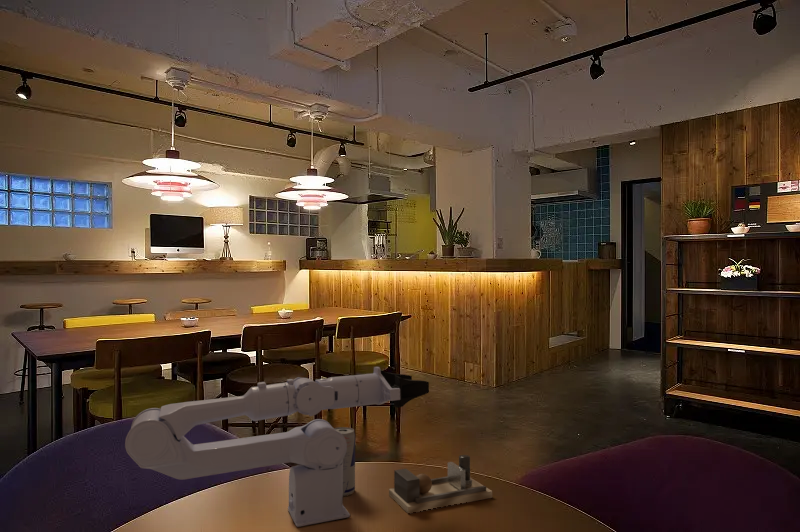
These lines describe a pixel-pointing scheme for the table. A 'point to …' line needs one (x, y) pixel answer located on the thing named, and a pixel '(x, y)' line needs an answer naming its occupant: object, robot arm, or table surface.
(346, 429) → the energy drink
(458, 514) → the table surface
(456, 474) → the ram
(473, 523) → the table surface
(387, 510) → the table surface
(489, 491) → the press base
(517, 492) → the table surface
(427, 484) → the walnut
